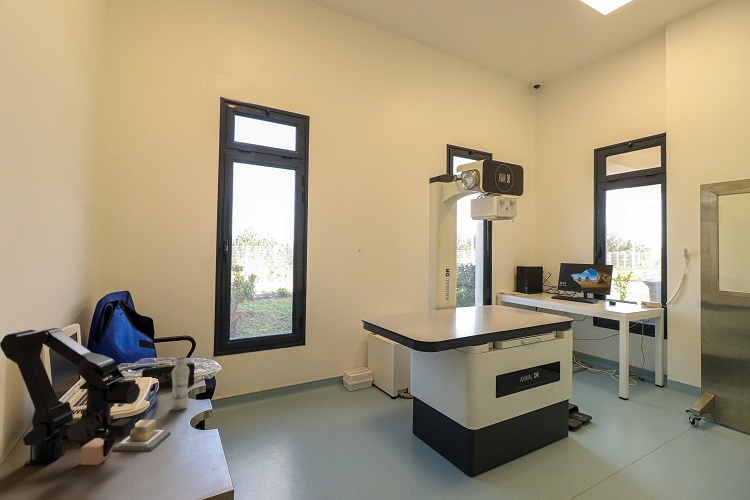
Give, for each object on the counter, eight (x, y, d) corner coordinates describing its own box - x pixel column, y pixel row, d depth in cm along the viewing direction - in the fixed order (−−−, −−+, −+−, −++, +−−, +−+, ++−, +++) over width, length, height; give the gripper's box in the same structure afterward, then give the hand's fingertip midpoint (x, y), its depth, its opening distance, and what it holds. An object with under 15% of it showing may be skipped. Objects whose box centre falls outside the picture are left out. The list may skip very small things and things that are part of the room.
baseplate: (112, 450, 106) (112, 444, 106) (134, 434, 116) (134, 428, 116) (151, 450, 106) (151, 444, 107) (170, 434, 116) (170, 429, 117)
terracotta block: (80, 464, 99) (81, 447, 99) (94, 454, 104) (95, 438, 104) (98, 464, 99) (98, 447, 99) (111, 454, 104) (112, 438, 104)
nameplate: (193, 383, 165) (194, 362, 165) (193, 384, 163) (194, 363, 164) (141, 391, 154) (142, 368, 154) (141, 392, 153) (142, 370, 153)
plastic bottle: (167, 413, 132) (169, 361, 133) (172, 406, 139) (174, 356, 139) (186, 411, 134) (187, 360, 135) (190, 404, 140) (192, 355, 141)
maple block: (129, 442, 109) (130, 426, 109) (140, 434, 114) (140, 419, 114) (145, 442, 109) (146, 427, 109) (155, 435, 114) (155, 419, 114)
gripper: (41, 414, 94) (38, 472, 93) (109, 415, 94) (107, 473, 93) (76, 398, 105) (73, 450, 104) (137, 399, 105) (135, 450, 105)
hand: (96, 456), depth 101 cm, fingers closed on terracotta block, 5 cm apart
